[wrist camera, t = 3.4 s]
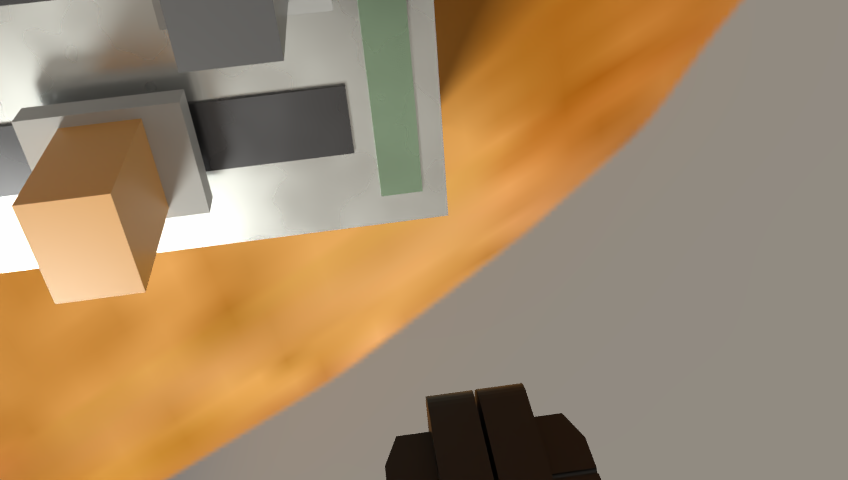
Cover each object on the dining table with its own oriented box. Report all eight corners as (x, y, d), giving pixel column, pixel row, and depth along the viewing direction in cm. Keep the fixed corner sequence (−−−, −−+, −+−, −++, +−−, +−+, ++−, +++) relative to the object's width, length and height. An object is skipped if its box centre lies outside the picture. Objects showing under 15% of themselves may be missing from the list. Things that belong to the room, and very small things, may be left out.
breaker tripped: (21, 107, 19) (-45, 199, 16) (183, 89, 20) (155, 175, 16) (64, 216, 21) (14, 320, 18) (212, 197, 21) (193, 296, 18)
